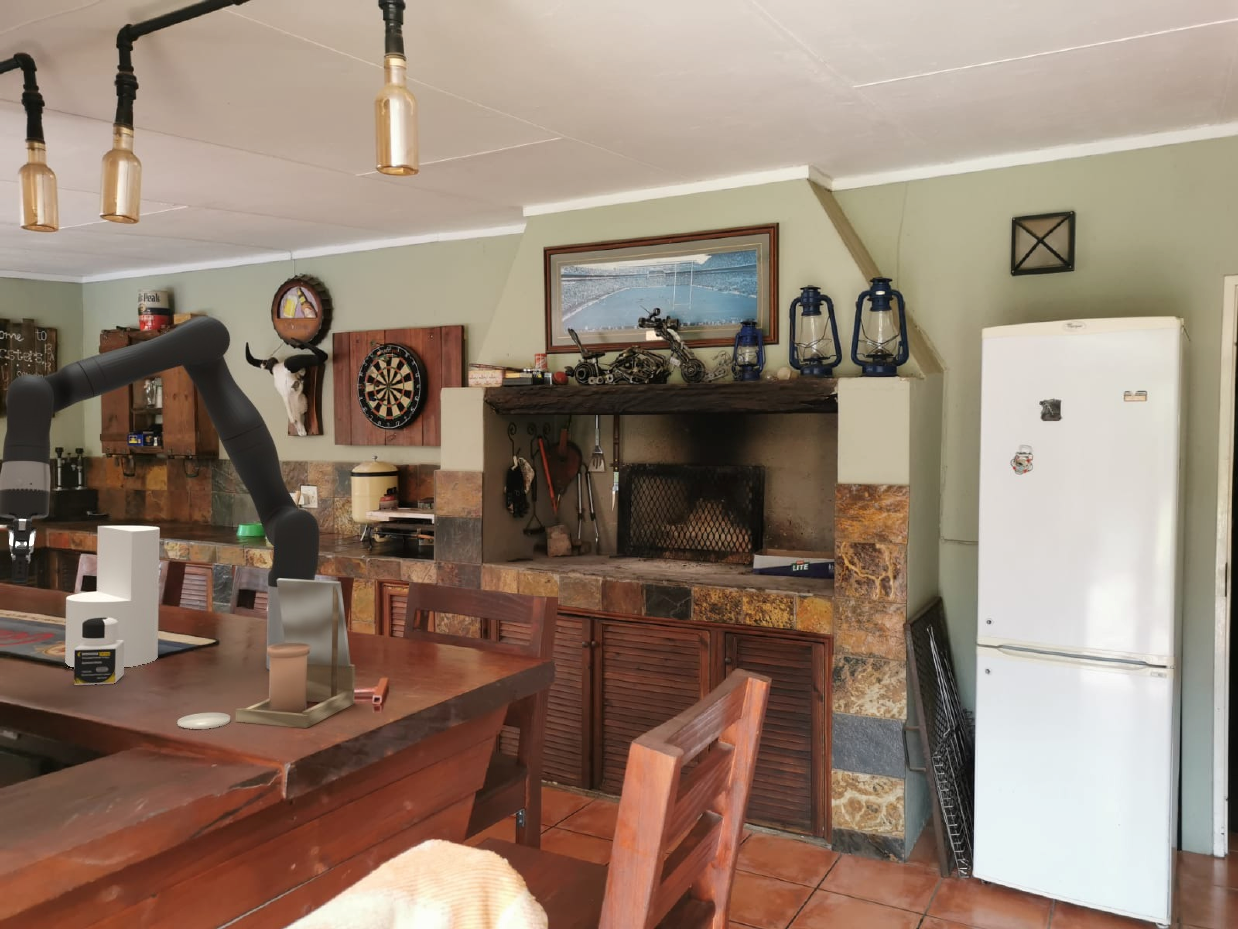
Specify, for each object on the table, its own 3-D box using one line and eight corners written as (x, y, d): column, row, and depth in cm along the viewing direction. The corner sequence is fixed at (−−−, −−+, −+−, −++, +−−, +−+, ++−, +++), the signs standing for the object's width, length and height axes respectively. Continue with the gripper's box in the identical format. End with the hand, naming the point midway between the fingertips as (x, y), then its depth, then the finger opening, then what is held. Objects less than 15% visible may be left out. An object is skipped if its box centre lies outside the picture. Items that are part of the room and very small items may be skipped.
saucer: (198, 714, 161) (198, 711, 161) (240, 718, 160) (240, 714, 160) (166, 727, 153) (166, 723, 153) (209, 731, 152) (209, 727, 152)
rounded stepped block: (136, 649, 212) (138, 524, 212) (172, 661, 201) (174, 529, 201) (51, 660, 199) (53, 527, 199) (84, 674, 188) (86, 533, 187)
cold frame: (289, 698, 173) (291, 575, 173) (354, 703, 170) (356, 578, 170) (235, 721, 157) (237, 586, 157) (306, 728, 155) (308, 590, 154)
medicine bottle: (73, 686, 179) (74, 622, 179) (83, 677, 186) (84, 616, 185) (115, 684, 181) (116, 621, 180) (124, 675, 187) (125, 615, 187)
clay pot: (280, 710, 165) (282, 641, 165) (316, 713, 164) (317, 644, 163) (257, 720, 158) (259, 649, 158) (294, 724, 157) (295, 651, 157)
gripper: (50, 484, 161) (45, 580, 158) (49, 495, 173) (45, 585, 170) (-3, 483, 157) (-9, 581, 155) (0, 494, 169) (-5, 586, 167)
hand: (19, 583), depth 162 cm, fingers open, 8 cm apart
